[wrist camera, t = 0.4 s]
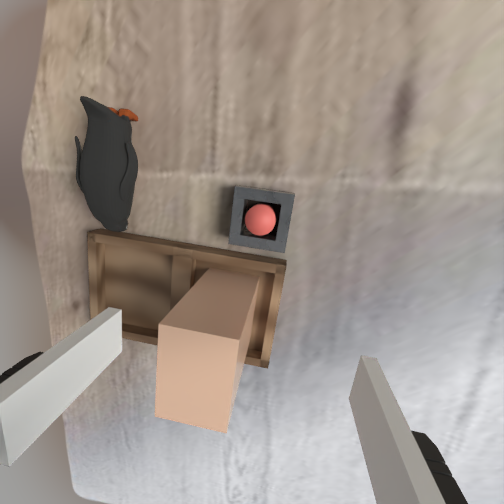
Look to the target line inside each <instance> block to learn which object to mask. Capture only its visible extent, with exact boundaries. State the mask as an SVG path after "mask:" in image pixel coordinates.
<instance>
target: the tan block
mask: <svg viewBox="0 0 504 504" xmlns="http://www.w3.org/2000/svg"><path fill="white" fill-rule="evenodd" d="M259 278H260V277H259V276H253V275H247V274H242V273H236V272H230V271H225V270H219V269H213V268H209V269H208V270H207V271H206V272H205V274H204V275H203V276H202V277H201V278H200V279H199V280H198V281H197V282H196V283H195V285H194V286H193V287H192V288H191V289H190V290H189V291H188V292H187V293H186V294H185V295H184V297H183V298H182V299H181V300H180V301H179V302H178V303H177V304H176V305H175V306H174V308H173V309H172V310H171V311H170V312H169V313H168V314H167V315H166V316H165V317H164V319H163V320H162V321H161V322H160V323H159V327H158V351H157V375H156V399H155V417H160V418H164V419H168V420H172V421H176V422H181V423H185V424H189V425H193V426H198V427H202V428H206V429H210V430H214V431H219V432H223V433H227V429H228V425H229V422H230V418H231V414H232V410H233V406H234V402H235V398H236V394H237V390H238V386H239V382H240V378H241V374H242V370H243V366H244V362H245V358H246V354H247V350H248V346H249V342H250V337H251V330H252V323H253V317H254V310H255V304H256V297H257V291H258V284H259Z"/></svg>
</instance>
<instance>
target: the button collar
mask: <svg viewBox="0 0 504 504" xmlns="http://www.w3.org/2000/svg"><path fill="white" fill-rule="evenodd" d="M294 197H295V194H294V193H289V192H282V191H275V190H268V189H261V188H254V187H247V186H240V185H239V186H235V190H234V199H233V208H232V217H231V225H230V234H229V243H228V244H233V245H239V246H245V247H251V248H257V249H263V250H269V251H275V252H281V253H285V248H286V242H287V237H288V231H289V225H290V219H291V214H292V208H293V202H294ZM248 199H249V200H255V201H262V202H269V203H275V204H282V205H281V212H280V218H279V224H278V230H277V236H276V235H270V234H266V235H255V234H253V233H251V232H250V231H245V230H244V229H245V216H246V213H247V205H248Z"/></svg>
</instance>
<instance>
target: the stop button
mask: <svg viewBox="0 0 504 504" xmlns="http://www.w3.org/2000/svg"><path fill="white" fill-rule="evenodd" d="M276 218H277V215H276V212H275V210H274V208H273V207H272V206H271V205H269V204H266V203H259V204H256V205H255V206H253V207H252V208H250V209H249V210H248V212H247V214H246V216H245V224H246V227H247V228H248V230H249V231H250V232H251V233H253V234H255V235H266V234H268V233H269V232H271V231H272V229H273V228H274V225H275V223H276Z"/></svg>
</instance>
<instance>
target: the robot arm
mask: <svg viewBox="0 0 504 504" xmlns="http://www.w3.org/2000/svg"><path fill="white" fill-rule="evenodd" d="M121 352H122V310H121V309H116V308H111V307H108V308H107V309H105V310H104V311H103V312H101V313H100V314H98V315H97V316H96V317H94V318H93V319H91V320H90V321H89V322H87V323H86V324H84V325H83V326H81V327H80V328H79V329H77V330H76V331H74V332H73V333H72V334H70V335H69V336H67V337H66V338H65V339H63V340H62V341H60V342H59V343H57V344H56V345H55V346H53V347H52V348H50V349H49V350H48V351H46V352H45V353H43V352H38V353H36V354H33V355H31V356H29V357H26V358H24V359H23V360H21V361H20V362H19V363H17V364H16V365H14V366H13V367H12V368H10V369H8V370H7V371H5V372H4V373H2V375H0V465H4V466H8V467H10V466H11V465H12V464H13V463H14V462H15V461H16V459H17V458H18V457H19V456H20V455H21V454H22V453H23V452H24V451H25V450H26V449H27V448H28V447H29V446H30V445H31V444H32V443H33V442H34V441H35V440H36V439H37V438H38V437H39V436H40V435H41V434H42V433H43V432H44V431H45V430H46V429H47V428H48V427H49V426H50V424H52V422H54V421H55V420H56V419H57V417H58V416H59V415H60V414H61V413H62V412H63V411H64V410H65V409H66V408H67V407H68V406H69V405H70V404H71V403H72V402H73V401H74V400H75V399H76V398H77V397H78V396H79V395H80V394H81V393H82V392H83V391H84V390H85V389H86V388H87V387H88V386H89V385H90V384H91V383H92V382H93V381H94V380H95V379H96V378H97V376H98V375H99V374H100V373H101V372H102V371H103V370H104V369H105V368H106V367H107V366H108V365H109V364H110V363H111V362H112V361H113V360H114V359H115V358H116V357H117V356H118V355H119V354H120V353H121ZM349 401H350V405H351V408H352V412H353V416H354V420H355V423H356V427H357V431H358V435H359V439H360V442H361V446H362V450H363V454H364V457H365V461H366V465H367V469H368V472H369V476H370V480H371V484H372V488H373V491H374V495H375V499H376V503H377V504H468V503H467V501H466V499H465V497H464V496H463V494H462V492H461V490H460V488H459V486H458V485H457V483H456V481H455V479H454V478H453V477H452V474H451V472H450V470H449V468H448V466H447V465H446V464H445V461H444V459H443V457H442V455H441V453H440V452H439V450H438V448H437V447H436V445H435V444H434V443H433V442H432V441H431V440H430V439H429V438H428V437H427V435H426V434H424V433H420V432H415V431H411V430H410V428H409V426H408V424H407V421H406V419H405V417H404V415H403V413H402V411H401V409H400V407H399V405H398V403H397V400H396V398H395V396H394V394H393V392H392V390H391V388H390V386H389V384H388V382H387V380H386V377H385V375H384V373H383V371H382V369H381V367H380V365H379V363H378V361H377V359H376V358H372V357H367V356H362V355H361V357H360V361H359V364H358V368H357V371H356V375H355V378H354V382H353V386H352V389H351V393H350V396H349Z"/></svg>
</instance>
